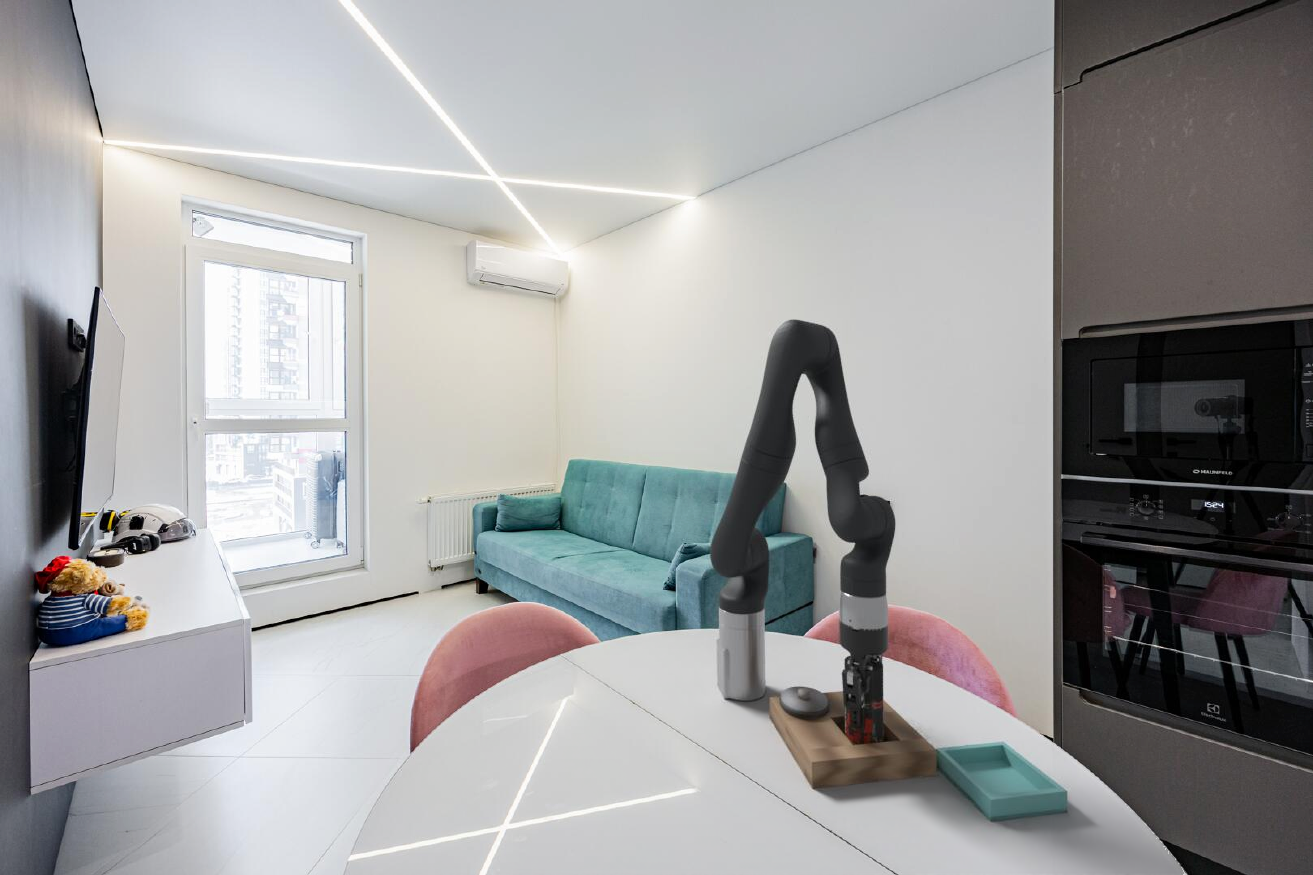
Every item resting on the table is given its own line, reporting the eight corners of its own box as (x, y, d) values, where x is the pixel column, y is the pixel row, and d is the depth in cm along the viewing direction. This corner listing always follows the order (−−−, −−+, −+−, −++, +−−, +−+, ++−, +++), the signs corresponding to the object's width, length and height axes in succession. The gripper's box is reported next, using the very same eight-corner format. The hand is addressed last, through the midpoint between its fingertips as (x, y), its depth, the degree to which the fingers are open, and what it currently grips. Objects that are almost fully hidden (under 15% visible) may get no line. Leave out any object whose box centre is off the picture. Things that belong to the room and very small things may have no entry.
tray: (990, 821, 73) (990, 799, 73) (936, 766, 84) (936, 748, 84) (1067, 812, 74) (1067, 790, 74) (1003, 759, 86) (1003, 741, 86)
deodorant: (839, 742, 91) (838, 655, 91) (872, 740, 92) (872, 653, 91) (854, 764, 85) (854, 671, 85) (890, 762, 86) (890, 669, 85)
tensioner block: (812, 788, 80) (811, 743, 80) (769, 717, 99) (768, 681, 99) (936, 775, 82) (936, 731, 82) (871, 708, 102) (870, 673, 101)
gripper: (854, 601, 96) (854, 694, 96) (824, 627, 84) (825, 731, 85) (898, 610, 91) (899, 707, 92) (874, 638, 80) (874, 749, 80)
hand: (863, 718), depth 88 cm, fingers closed on deodorant, 6 cm apart
